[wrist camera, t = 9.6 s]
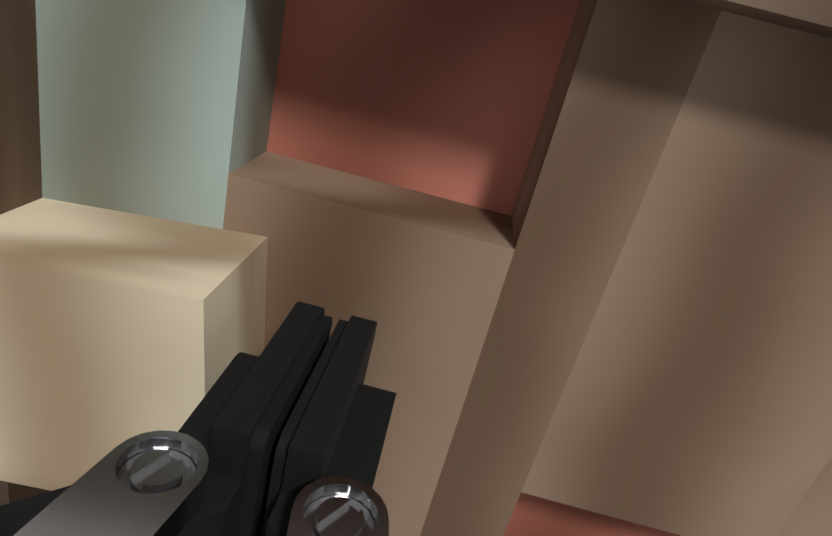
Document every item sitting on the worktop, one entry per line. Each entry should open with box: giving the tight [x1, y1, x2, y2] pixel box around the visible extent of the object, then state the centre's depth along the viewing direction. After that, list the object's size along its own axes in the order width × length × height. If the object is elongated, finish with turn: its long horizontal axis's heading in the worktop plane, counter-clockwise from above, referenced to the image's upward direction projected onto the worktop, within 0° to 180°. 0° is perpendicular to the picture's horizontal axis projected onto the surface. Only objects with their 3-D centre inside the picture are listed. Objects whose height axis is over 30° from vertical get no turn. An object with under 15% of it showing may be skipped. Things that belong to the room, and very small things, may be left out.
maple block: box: [0, 198, 268, 491], centre depth 12 cm, size 5×5×3 cm
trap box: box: [0, 0, 832, 536], centre depth 13 cm, size 29×17×4 cm, turn 77°
